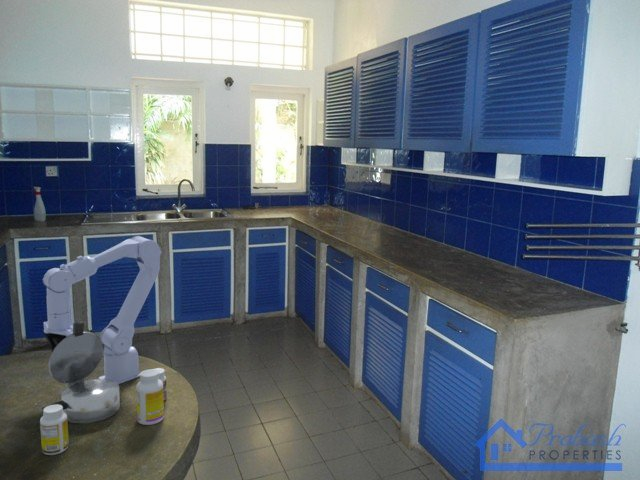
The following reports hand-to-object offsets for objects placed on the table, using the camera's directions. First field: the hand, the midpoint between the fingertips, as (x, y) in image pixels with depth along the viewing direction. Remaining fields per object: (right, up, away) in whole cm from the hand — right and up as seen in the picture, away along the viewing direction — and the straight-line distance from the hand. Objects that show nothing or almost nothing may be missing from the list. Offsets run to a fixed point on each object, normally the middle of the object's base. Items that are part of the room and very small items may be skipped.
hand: (61, 358), depth 143 cm
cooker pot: (+10, -12, -9) cm, 18 cm away
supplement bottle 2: (+29, -14, -11) cm, 34 cm away
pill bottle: (+27, -12, 0) cm, 30 cm away
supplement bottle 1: (+12, -15, -25) cm, 32 cm away
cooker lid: (+8, +2, -6) cm, 10 cm away
